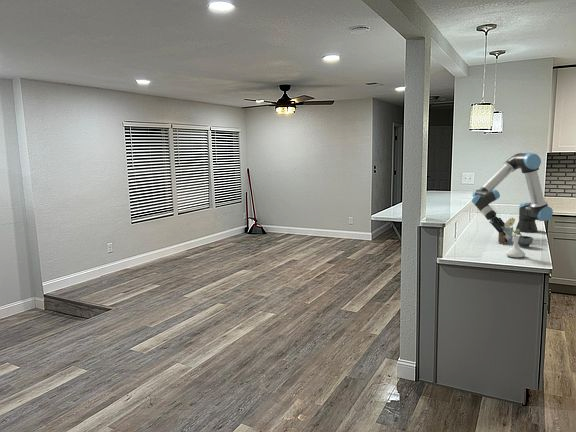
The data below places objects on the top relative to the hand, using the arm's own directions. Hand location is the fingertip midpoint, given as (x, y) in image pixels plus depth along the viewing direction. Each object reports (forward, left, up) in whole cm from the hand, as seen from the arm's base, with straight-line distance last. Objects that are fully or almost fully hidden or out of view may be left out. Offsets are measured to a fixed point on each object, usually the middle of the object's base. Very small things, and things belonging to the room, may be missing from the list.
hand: (510, 237), depth 310 cm
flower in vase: (+37, +18, -4) cm, 41 cm away
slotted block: (0, -4, -4) cm, 5 cm away
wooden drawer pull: (0, -4, -4) cm, 5 cm away
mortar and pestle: (+7, +11, -4) cm, 14 cm away
